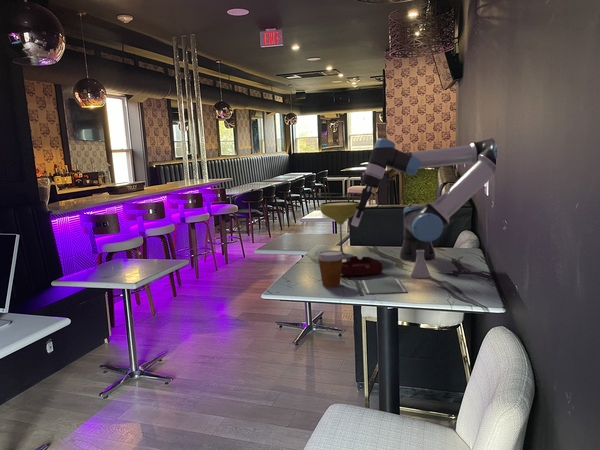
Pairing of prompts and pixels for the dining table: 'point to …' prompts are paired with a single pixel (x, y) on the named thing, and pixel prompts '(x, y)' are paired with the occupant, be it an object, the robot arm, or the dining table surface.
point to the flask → (420, 266)
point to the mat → (383, 286)
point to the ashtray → (361, 266)
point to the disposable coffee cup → (330, 267)
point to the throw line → (359, 288)
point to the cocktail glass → (339, 215)
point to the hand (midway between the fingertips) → (354, 225)
